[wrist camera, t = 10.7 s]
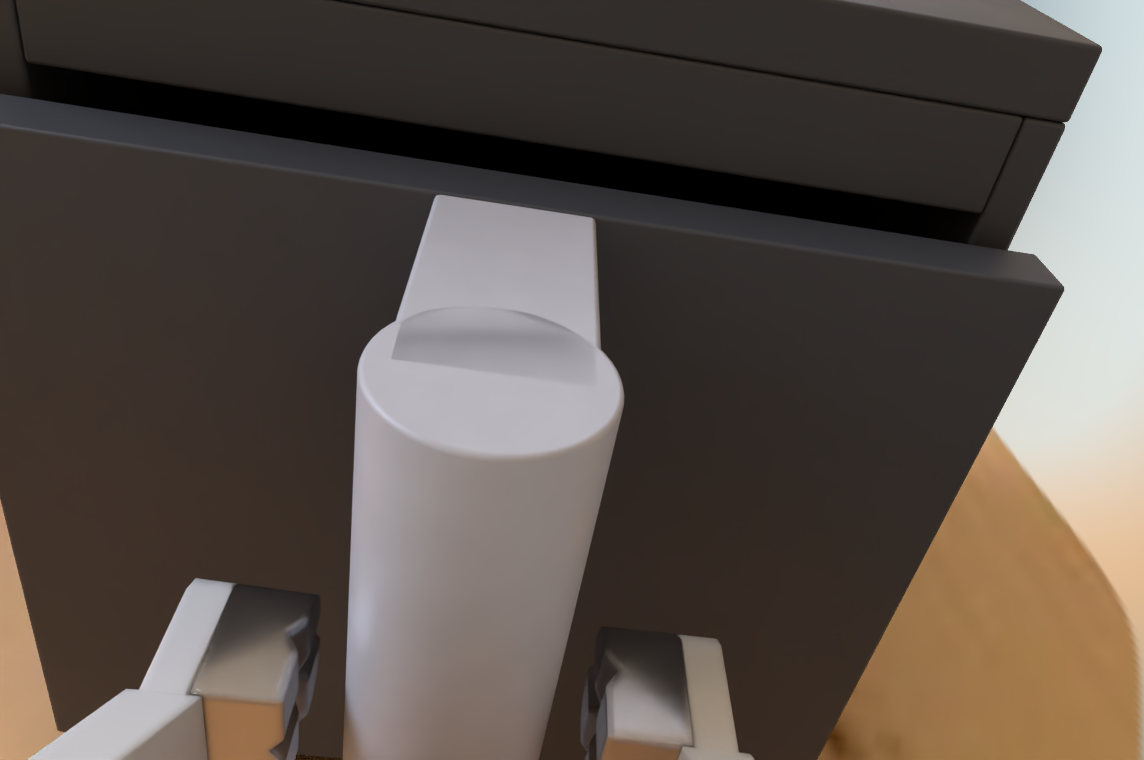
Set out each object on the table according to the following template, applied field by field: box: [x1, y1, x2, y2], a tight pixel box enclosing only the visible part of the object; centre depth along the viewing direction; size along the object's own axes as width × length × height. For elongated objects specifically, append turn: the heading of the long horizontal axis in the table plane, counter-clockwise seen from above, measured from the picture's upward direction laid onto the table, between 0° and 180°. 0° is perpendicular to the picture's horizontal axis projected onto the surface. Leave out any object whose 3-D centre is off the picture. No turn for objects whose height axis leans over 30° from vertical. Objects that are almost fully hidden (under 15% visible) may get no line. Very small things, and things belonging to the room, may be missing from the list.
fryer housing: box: [0, 0, 1102, 250], centre depth 21 cm, size 15×14×17 cm
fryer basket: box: [0, 94, 1064, 760], centre depth 19 cm, size 20×14×12 cm
